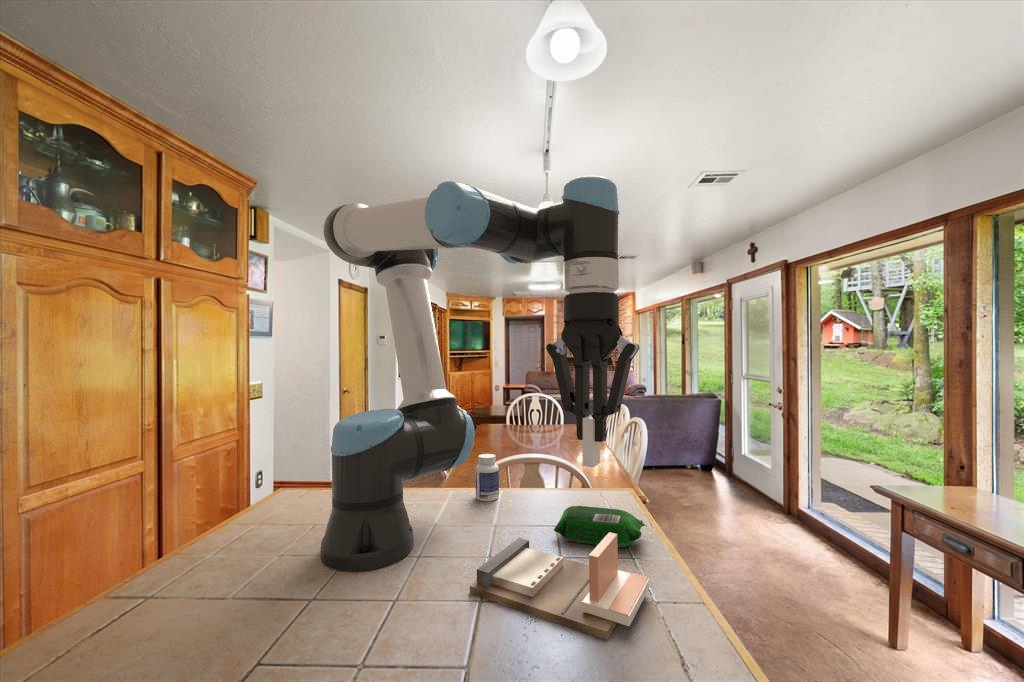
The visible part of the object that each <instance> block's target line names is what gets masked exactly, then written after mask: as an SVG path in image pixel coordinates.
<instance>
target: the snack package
mask: <svg viewBox="0 0 1024 682" xmlns="http://www.w3.org/2000/svg"><path fill="white" fill-rule="evenodd" d="M642 527H646V528H647V527H648V525H645V523H644V521H643V520H641V519H638V518H636V517H635V516H634V515H633V514H631V513H629V512H628V511H625V510H622V509H619V508H618V509H617V508H606V507H597V506H585V505H572V506H568V507H566V509H564V510H563V513H562V515H561V516H560V519H559V521H558V522H557V524H556V525H555V527H554V529H553V531H554V533H558V534H559V535H561V537H562V538H564V539H565V540H567V541H569V542H570V543H575V544H576V543H577V544H585V543H586V544H587V545H595V546H597V545H598V544H599V543H600V542H601V541H602V540H603V539H604V537H605V536H606V535H607V534H608V533H609V532H611V533H615V534H617V548H625V547H628V546H630V545H631V544H632V543H633V542H635V541H636V540H639V539H640V538H641V537H642V532H641V530H642Z"/></svg>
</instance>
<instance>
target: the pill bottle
mask: <svg viewBox="0 0 1024 682" xmlns="http://www.w3.org/2000/svg"><path fill="white" fill-rule="evenodd" d="M477 459H478V461H477V462H478V464H477V465H476V466H475V468H474V469H475V474H474V476H475V498H476V500H478V501H481V502H492V501H495V500H496V501H497V500H498V499H499V497H500V489H499V488H500V486H499V485H500V482H499V481H500V469H499V468H500V467H499V465H498V464H497V463H496V459H497V457H496V455H495V454H493V453H483V454H479V455H478V457H477Z"/></svg>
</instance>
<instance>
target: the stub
mask: <svg viewBox="0 0 1024 682" xmlns="http://www.w3.org/2000/svg"><path fill="white" fill-rule="evenodd" d="M595 546H596V547H595V548H594V549H593V550H592V551H591V552H590V553H589V554H588V565H589V593H588V595H587V596H586V597H585V599H584V600H583V601H582V611H583V612H586V613H589V614H592V615H595V616H598V617H602V618H605V619H608V620H611V621H614V622H617V624H621V625H622V626H627V627H630V626H631V624H632V623H633V620H634V619H635V616H636V615H637V613H638V610H639V609H640V607H641V605H642V603H643V601H644V599H645V597H646V595H647V593H648V591H649V590H650V587H651V581H650V580H651V579H650V577H648V576H645V575H641V574H637V573H633V572H628V571H624V570H620V569H619V567H618V565H619V564H618V563H619V559H618V557H619V556H618V555H619V554H618V549H619V547H617V534H615V533H611V532H609V533H608V534H607V535H606V536H605V537H604V539H603V540H602V541H601V542H600V543H599V544H598V545H595Z"/></svg>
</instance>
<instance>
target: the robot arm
mask: <svg viewBox="0 0 1024 682" xmlns="http://www.w3.org/2000/svg"><path fill="white" fill-rule="evenodd" d="M562 191H563V192H562V195H561V200H562V201H560V202H557V203H555V204H552V205H550V206H549V205H548V206H544V207H541V208H533V207H530V206H526V205H524V204H521V203H518V202H515V201H514V200H513V201H512V200H509V199H507V198H504V197H502V196H498V195H495V194H493V193H491V192H488V191H484V190H482V189H480V188H477V187H476V186H473V185H471V184H469V183H468V184H467V183H459V182H456V181H451V180H449V181H444V182H441V183H439V184H438V185H437V186H436V188H435V189H433V190H432V191H431V192H430V194H429V196H426V197H419V198H413V199H407V200H406V199H405V200H401V201H395V202H390V203H383V204H377V205H372V206H371V205H370V206H368V205H366V204H363V203H360V202H359V203H358V202H356V203H355V202H354V203H353V202H352V203H348V204H342V205H339V206H337V207H335V208H333V209H332V211H330V212H329V214H328V215H327V216H326V219H325V221H324V224H323V238H324V240H325V244H326V245H327V247H328V249H329V250H330V251H331V252H332V253H333V254H334V255H335V256H336V257H338V259H341V260H342V261H344V262H346V263H348V264H351V265H355V266H359V267H365V268H369V269H370V268H372V269H374V271H375V278H376V282H377V283H378V284H379V285H380V286H382V287H384V289H385V292H386V299H387V305H388V310H389V317H390V325H391V330H392V335H393V336H392V337H393V342H394V347H395V348H394V349H395V355H396V360H397V366H398V372H399V378H400V379H399V380H400V385H401V390H402V391H401V393H402V397H403V399H402V401H401V403H400V404H399V405H398V407H397V409H396V408H381V409H377V410H374V409H372V410H366V411H362V412H357V413H353V414H350V415H348V416H346V417H343V418H342V419H340V420H339V421H337V422H336V424H335V425H334V426H333V430H332V438H331V445H330V453H331V504H332V505H331V511H330V515H329V518H328V522H327V525H326V528H325V531H324V536H323V538H322V540H321V543H320V561H321V563H322V564H323V565H324V566H326V567H328V568H330V569H332V570H337V571H345V572H360V571H361V572H362V571H363V572H364V571H369V570H375V569H379V568H383V567H386V566H389V565H391V564H394V563H396V562H398V561H400V560H402V559H404V558H405V557H407V556H408V555H409V554H410V553H411V551H413V549H414V543H415V542H414V540H415V539H414V529H413V527H412V524H411V523H410V522H411V521H410V519H409V515H408V511H407V509H406V505H405V503H404V481H408V480H409V481H410V480H411V479H412V480H413V479H416V478H420V477H424V476H429V475H431V474H436V473H440V472H447V471H449V470H451V469H454V468H456V467H458V466H459V467H460V465H462V464H464V463H465V462H466V461H467V460H468V459H469V457H470V454H471V452H472V450H473V448H474V445H475V437H476V435H475V433H476V432H475V426H474V422H473V420H472V417H471V416H470V415H469V414H468V412H467V411H466V410H465V409H463V408H460V407H458V403H457V397H456V396H455V395H454V394H452V393H450V392H449V391H448V390H447V384H446V379H445V375H444V368H443V364H442V358H441V353H440V348H439V342H438V337H437V331H436V326H435V321H434V315H433V311H432V305H431V298H430V293H429V289H428V284H427V282H428V281H429V279H430V278H431V277H432V276H433V271H434V270H435V267H436V266H437V264H438V258H437V257H438V256H439V254H440V253H439V252H440V249H473V250H475V249H477V250H481V251H486V252H490V253H496V254H498V255H499V256H500V257H502V258H503V259H504V261H506V262H507V263H508V264H513V265H516V264H517V265H518V264H525V265H527V264H531V263H534V262H539V261H543V260H549V259H554V258H559V257H562V258H563V290H564V292H566V293H567V294H565V296H564V297H563V323H564V325H563V329H562V331H561V333H560V337H559V338H558V339H557V340H555V341H554V342H553V343H547V345H546V347H545V350H546V351H547V353H548V355H549V357H550V358H551V360H552V364H553V368H554V373H555V376H556V377H555V378H556V381H557V386H558V391H559V395H560V400H561V403H562V409H563V410H564V411H565V412H569V413H571V414H573V415H574V416H575V418H576V439H577V440H578V441H582V466H583V467H586V468H594V467H595V468H596V467H597V466H598V465H599V464H600V463H601V443H603V442H604V441H606V439H607V419H608V417H609V416H611V415H614V414H617V413H619V412H620V411H621V409H622V408H621V407H622V404H623V399H624V395H625V391H626V386H627V383H628V382H627V381H628V378H629V374H630V370H631V365H632V361H633V359H634V358H635V356H636V355H637V354H638V351H639V350H640V346H639V344H638V343H635V342H634V343H633V342H631V341H630V340H629V339H627V338H625V337H624V336H623V331H622V329H621V327H620V323H619V322H620V314H619V313H620V309H619V307H620V306H619V305H620V303H619V302H620V297H619V295H618V294H617V293H615V292H616V291H617V290H619V288H620V286H619V281H620V280H619V275H620V274H619V253H618V251H619V245H618V244H619V215H620V211H619V200H618V199H619V198H618V188H617V185H616V183H615V182H614V181H613V180H611V179H609V178H607V177H605V176H600V175H585V176H584V175H583V176H578V177H575V178H573V179H570V181H568V182H566V183H565V185H564V187H563V190H562ZM617 346H618V349H617V353H618V354H619V356H618V358H617V361H616V364H615V369H614V374H613V378H612V382H611V386H610V391H609V395H608V367H609V357H610V356H611V355H612V354H613V352H614V351H615V349H616V348H617ZM567 350H568V351H569V352H570V353H571V355H572V356H573V357H572V358H573V368H574V382H575V383H573V379H572V373H571V369H570V364H569V361H568V357H567V354H566V353H567ZM590 367H592V409H591V407H590V405H591V404H590V403H591V402H590V401H591V399H590V398H591V397H590V393H591V392H590V391H591V390H590V389H591V388H590V387H591V386H590V384H591V383H590V381H591V379H590V376H591V375H590V373H591V372H590ZM591 412H592V413H591ZM589 414H590V415H589Z"/></svg>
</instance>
